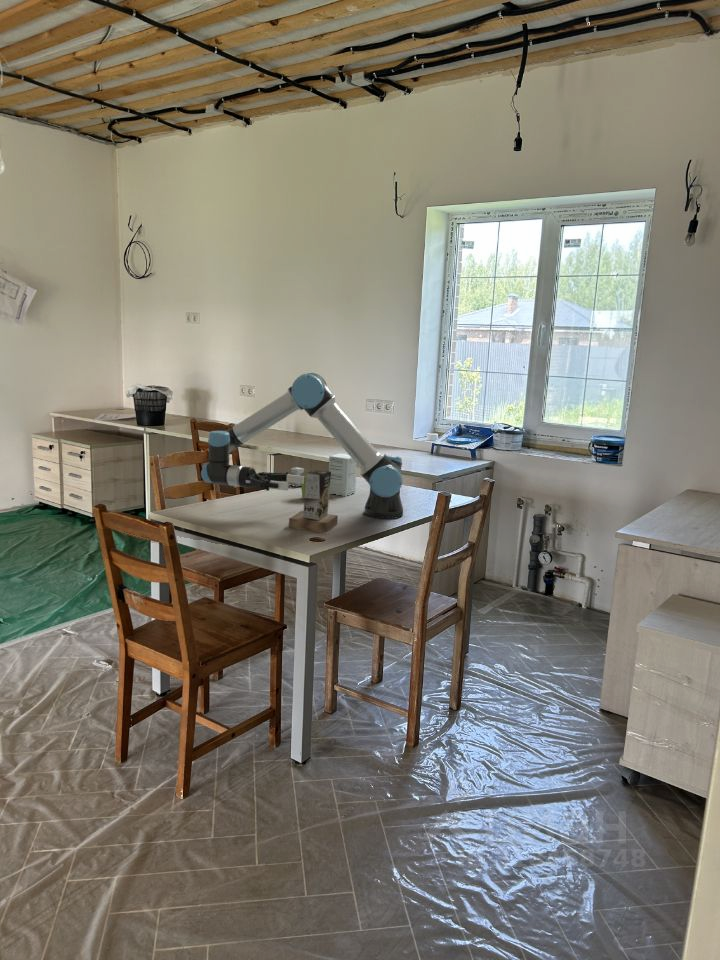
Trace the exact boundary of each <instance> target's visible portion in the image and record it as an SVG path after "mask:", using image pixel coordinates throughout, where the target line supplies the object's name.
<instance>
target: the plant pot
mask: <svg viewBox="0 0 720 960" xmlns="http://www.w3.org/2000/svg"><path fill="white" fill-rule="evenodd" d="M305 486H306V476H304V484H301V487H300V488H301V489H300V490H301V498H302V499H303V500H304V499H305Z"/></svg>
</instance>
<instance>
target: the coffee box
mask: <svg viewBox="0 0 720 960" xmlns="http://www.w3.org/2000/svg"><path fill="white" fill-rule="evenodd" d="M305 477H306V486H305V499H303V501H304V502H303V510H302V511H303V518H309V519H314V520H320V519H322V518H323V517H325V516H327V515H328V514H329V512H328V511H329V499H330V494H329V490H330V479H331V472H330V471H329V470H328V471H327V470H319V469H314V470H312V471H309V472H306V476H305Z"/></svg>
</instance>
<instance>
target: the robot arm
mask: <svg viewBox="0 0 720 960" xmlns="http://www.w3.org/2000/svg"><path fill="white" fill-rule="evenodd" d="M298 410H299V411H303V410H304V411H305V412H306V413H307V415H308V416H310V418H313V419H314V418H315V419H317V420H318V421H319V422H320V423H321V424H322V426H323V427H324V428H325V429H326V430H327V431H328V432H329V434H330V435H331V436H332V437H333V438H334V439H335V441H336V442H337V443H338V444H339V445H340V447H342V449H343V450H345V452H346V453H347V455H350V456H351V458H352V459H353V460H354V461H355V462H356V463H357V466H358V467H359V469H360V473H359V474H360V475H361V477H362V478H363V479H364V481H365V482H366V483H367V484H368V485H369V495H368V497H367V500H366V502H365V505H364V510H363V512H364V514H365V515H366V514H367V515H366V516H368V515H370V516H369V517H371V516H373V517H372V518H376V517H378V518H377V519H397V518H396V517H398V518H401V517H403V516H404V507H403V503H402V499H401V495H400V493H401V489H402V485H403V475H402V466H403V462H402V461H403V460H402V457H401V456H397V455H395V456H394V455H386V453H384V452H378V451H377V449H376V448H375V447H374V446H373V444H372V443H370V441H369V440H368V439H367V437H366V436H365V435H364V434H363V433H362V432H361V430H360V429H359V428H358V427H357V426H356V424H354V422H353V421H352V420H351V419H350V418H349V417H348V415H347V414H346V413H345V412H344V411H343V410H342V409H341V408H340V406H339V405H338V404H337V402H336V395H335V394H334V393H333V392H332V391H331V390H330V388H329V387H328V385H327V382H326V380H325V379H324V377H323V376H322V375H320V374H318V373H316V372H308V373H303V374H301V375H299V376H298V377H296V379H295V380H294V381H293V382H292V385H291V386H290V387H288V389H287V392H285V393H284V394H282V395H281V396H279V397H278V398H276V399H275V400H273V401H271V402H270V403H269V404H266V405H265V406H264V407H262V408H261V409H259V410H257V411H256V412H254V413H253V414H251V415H250V416H248V417H246V418H244V419H243V420H242V421H240V422H238V423H237V424H235V425H233V426H232V427H230V428H229V429H228V430H212V431H210V432H209V434H208V441H207V442H208V462H204V463H203V465H202V466H201V471H200V475H201V479H202V481H204V482H205V483H209V484H214V485H224V486H232V487H233V488H234V489H235V488H237V487H241V488H247V489H251V488H253V487H255V488H258V489H261V490H265V491H270V489H271V490H279V491H289V482H292V483H300V484H304V477H305V476H304V475H300V476H298V475H295V474H289V472H288V471H286V472H267V471H266V472H265V471H262V472H261V471H260V472H258V473H257V472H256V470H255V468H254V467H252V466H251V467H250V466H242V465H236V464H235V465H233V464H230V453H231V452H233V451H235V450H236V449H238V448H239V447H241V446H242V445H244V444H246V442H247V443H248V441H250V440H251V439H253V438H255V437H256V436H258V435H260V434H261V433H262V432H263V433H264V431H266V430H267V429H269V428H271V427H272V426H274V425H276V424H277V423H279V422H280V421H282V420H284V419H285V418H287V417H289V416H290V415H292V414H293V413H295V412H297V411H298ZM402 515H403V516H402ZM400 516H401V517H400Z"/></svg>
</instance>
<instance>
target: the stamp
mask: <svg viewBox="0 0 720 960" xmlns="http://www.w3.org/2000/svg"><path fill="white" fill-rule="evenodd" d="M304 471H305V468H303V467H297V466H296V467H292V468H291V474H292V473H293V475H298V476H302V475H301V474H303V473H304ZM288 485H290V486H291V485H294V486H293V487H295V486H301V484H300V483H292V482H288Z"/></svg>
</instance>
